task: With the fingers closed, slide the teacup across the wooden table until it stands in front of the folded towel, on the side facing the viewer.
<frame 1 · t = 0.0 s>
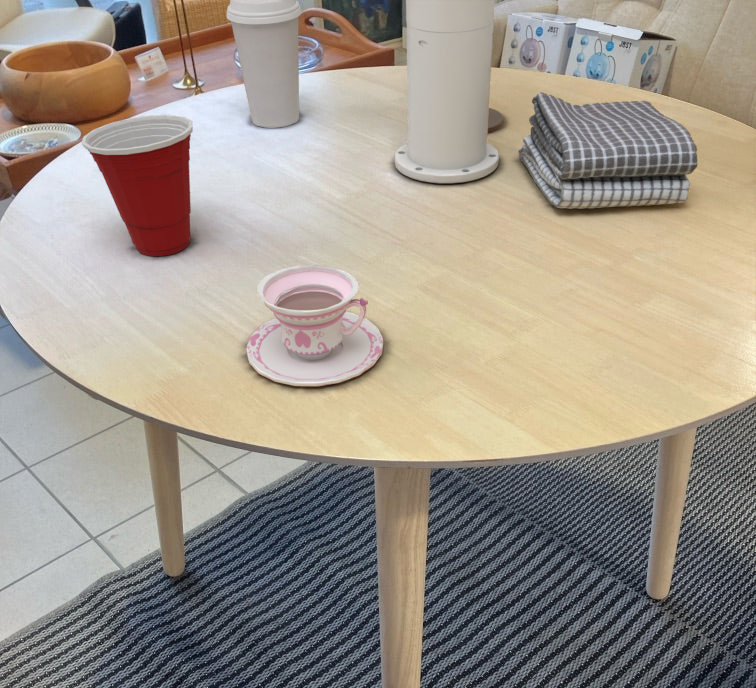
plastic cup: (162, 245, 91), on the table
coaster: (465, 122, 114), on the table
towel: (598, 182, 99), on the table
coffee cup: (275, 120, 117), on the table
teacup: (315, 351, 75), on the table
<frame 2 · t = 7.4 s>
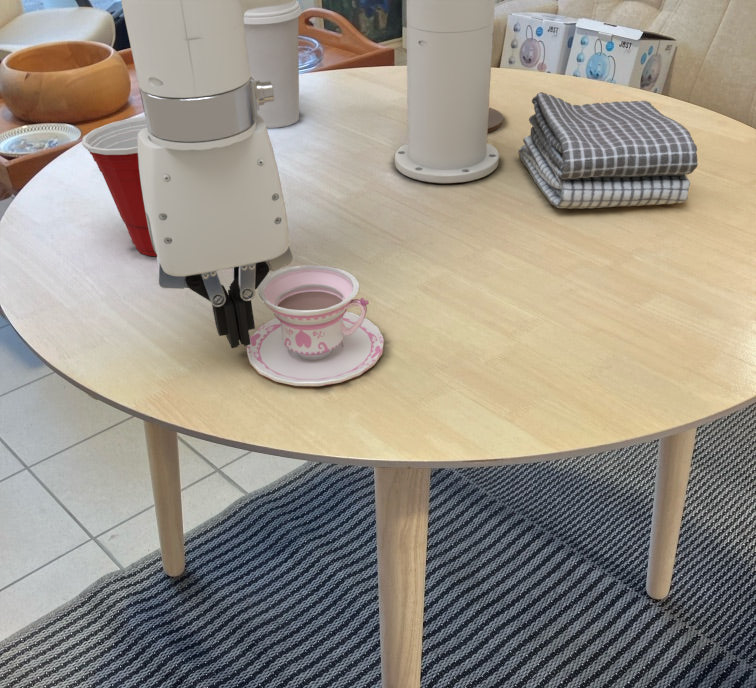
hand: (237, 338, 72), 3 cm above the table, tool pointing down, fingers closed
teacup: (316, 351, 75), on the table, touching gripper
everything else where it was.
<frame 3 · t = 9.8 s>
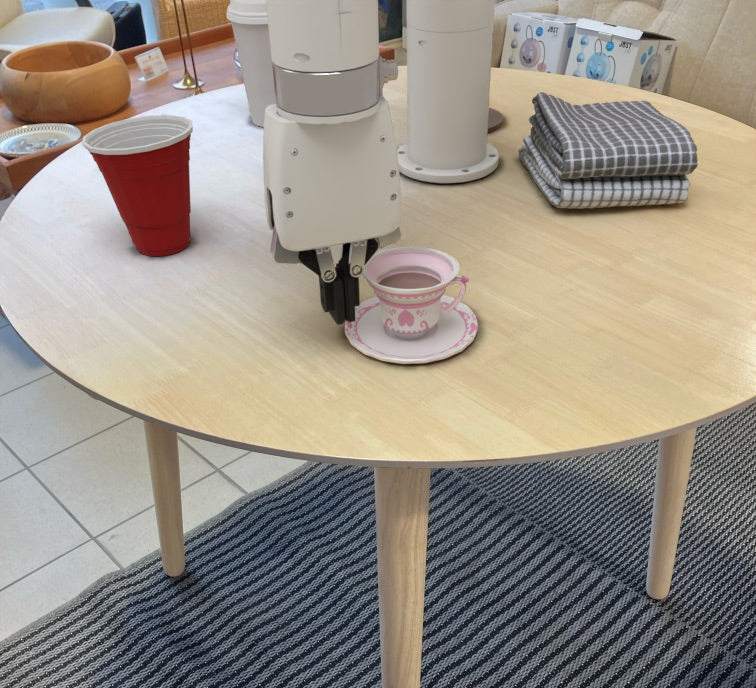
hand: (341, 315, 73), 3 cm above the table, tool pointing down, fingers closed
teacup: (411, 331, 77), on the table, touching gripper
everything else where it was.
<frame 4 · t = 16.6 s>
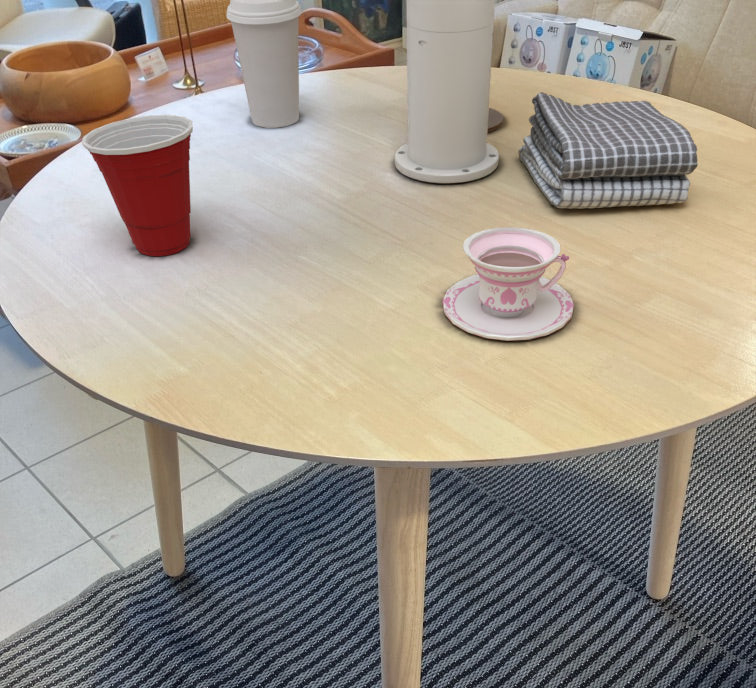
teacup: (507, 309, 79), on the table
everything else where it was.
at the end: teacup tilted 0°; towel moved 0.2 cm from its start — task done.
